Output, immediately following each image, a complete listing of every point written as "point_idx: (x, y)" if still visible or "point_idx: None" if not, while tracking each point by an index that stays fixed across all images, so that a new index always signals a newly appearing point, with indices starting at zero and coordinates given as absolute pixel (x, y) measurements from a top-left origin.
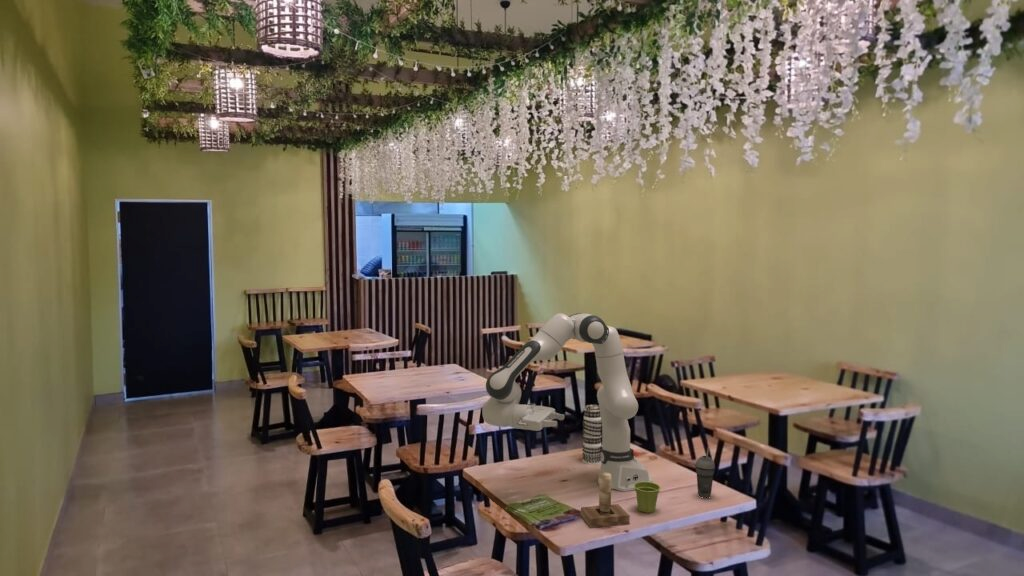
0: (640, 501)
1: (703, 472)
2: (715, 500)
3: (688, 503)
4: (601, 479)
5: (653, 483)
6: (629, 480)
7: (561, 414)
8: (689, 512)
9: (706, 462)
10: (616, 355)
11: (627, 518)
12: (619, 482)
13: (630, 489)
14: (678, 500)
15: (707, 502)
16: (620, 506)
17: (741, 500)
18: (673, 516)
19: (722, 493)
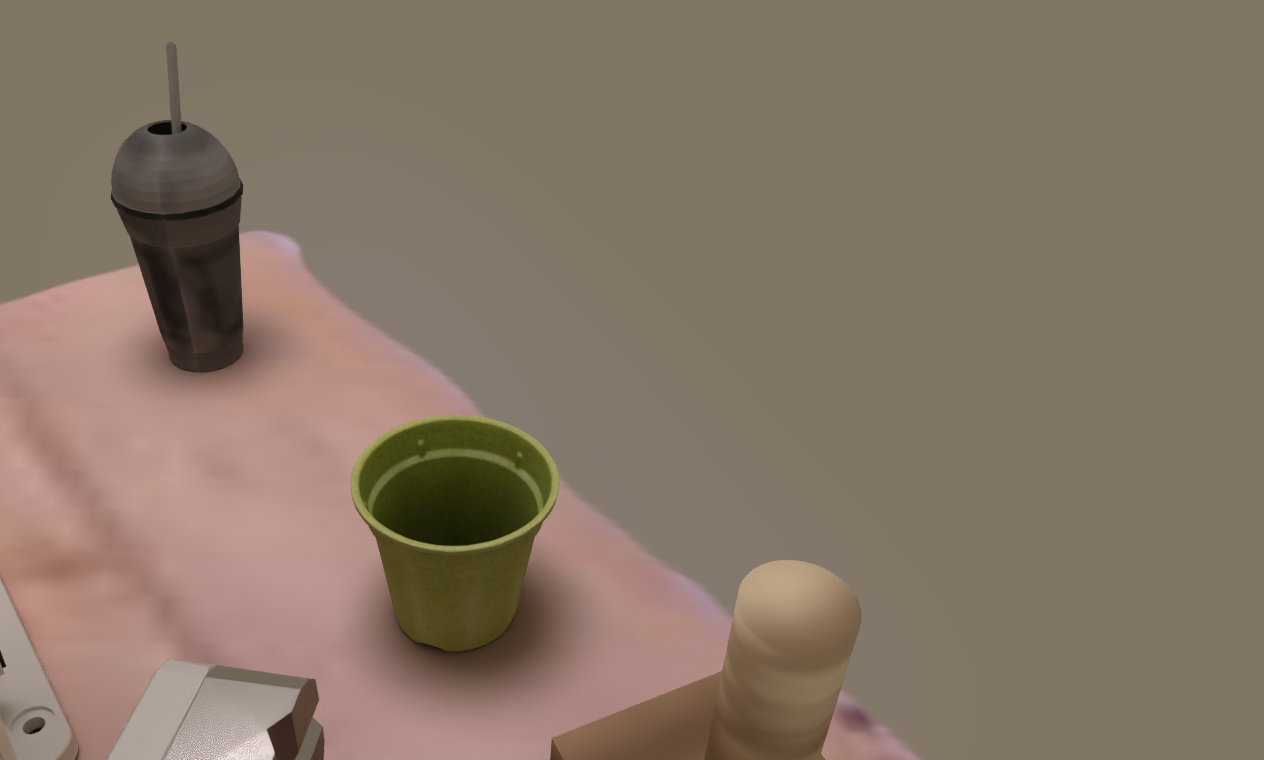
0: (511, 585)
1: (235, 217)
2: (267, 322)
3: (319, 416)
4: (847, 661)
5: (381, 444)
6: (3, 659)
7: (152, 729)
8: None
9: (221, 150)
10: None
11: None
12: (11, 745)
13: (57, 697)
14: (272, 451)
15: (298, 349)
16: (599, 720)
17: (264, 252)
18: None
19: None
